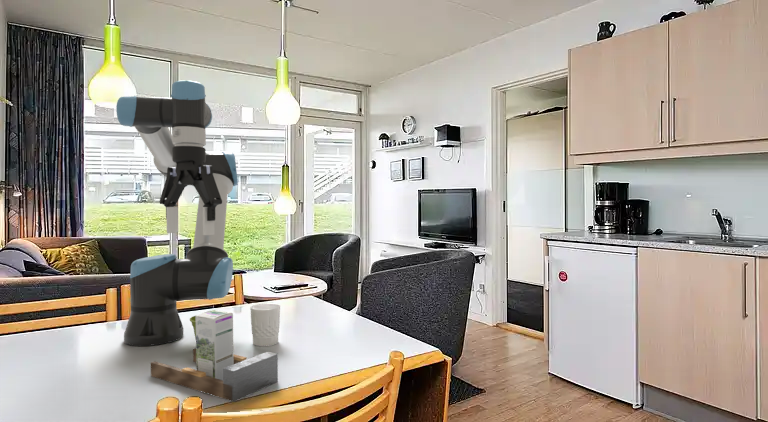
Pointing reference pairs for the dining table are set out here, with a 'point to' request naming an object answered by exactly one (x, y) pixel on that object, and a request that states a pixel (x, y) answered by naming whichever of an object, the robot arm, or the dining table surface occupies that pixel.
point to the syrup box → (214, 342)
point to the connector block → (251, 375)
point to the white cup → (265, 324)
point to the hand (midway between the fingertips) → (190, 234)
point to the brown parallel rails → (193, 377)
